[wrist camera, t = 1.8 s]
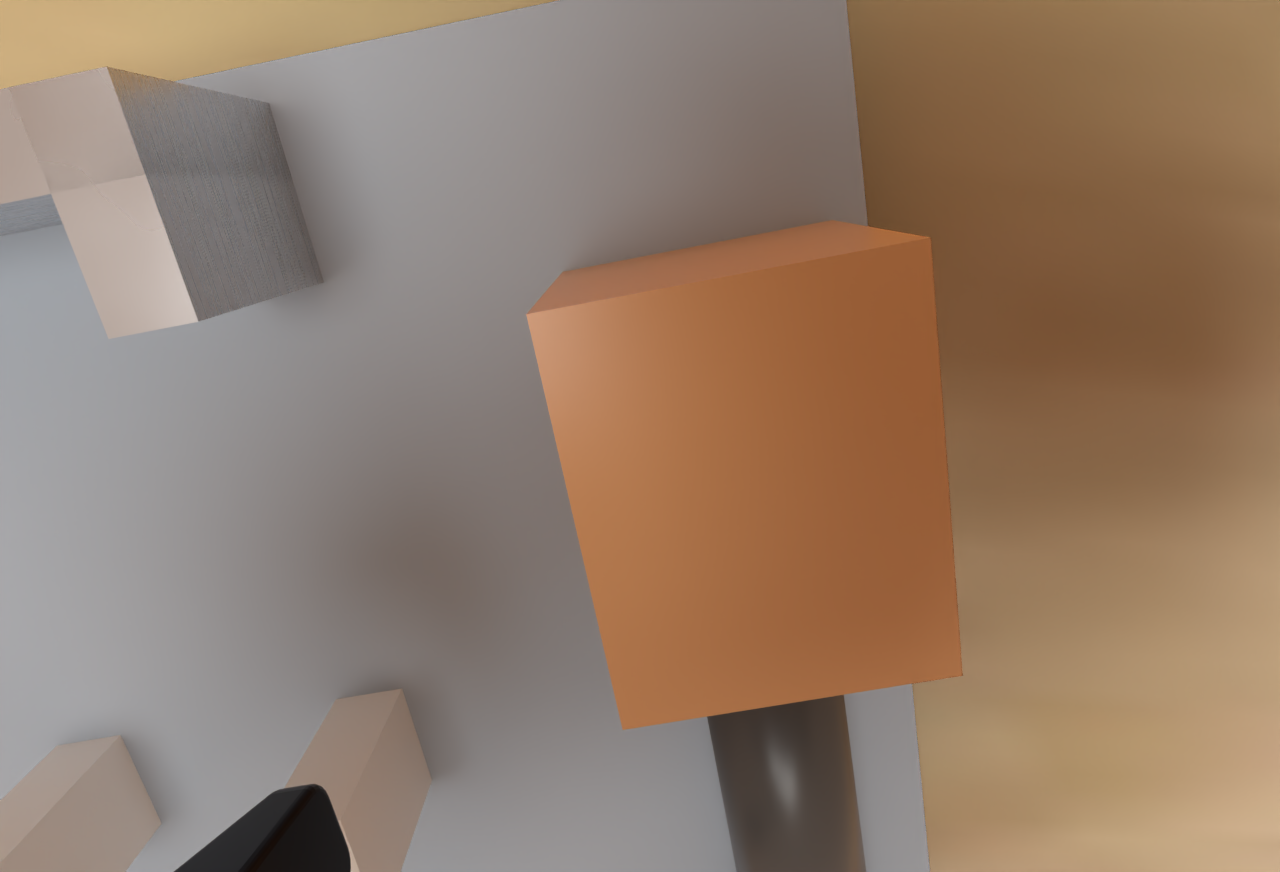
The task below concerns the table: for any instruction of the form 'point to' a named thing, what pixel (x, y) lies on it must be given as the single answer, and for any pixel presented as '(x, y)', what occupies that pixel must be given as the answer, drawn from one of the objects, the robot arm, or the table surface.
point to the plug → (760, 503)
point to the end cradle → (155, 194)
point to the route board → (408, 442)
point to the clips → (335, 759)
